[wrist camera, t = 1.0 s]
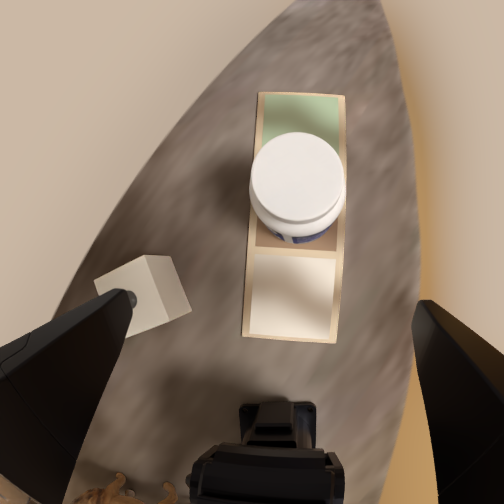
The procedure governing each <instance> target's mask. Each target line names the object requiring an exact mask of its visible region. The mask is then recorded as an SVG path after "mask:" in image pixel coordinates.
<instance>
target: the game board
mask: <svg viewBox="0 0 504 504" xmlns="http://www.w3.org/2000/svg"><path fill="white" fill-rule="evenodd" d="M291 132H303V133H308V134H312V135H315V136H317V137H319V138H321V139H323V140H324V141H326V142H327V143H328V144H329V145H330V146H331V147H332V148H333V149H334V150H335V151H336V153H337V154H338V156H339V158H340V160H341V163H342V166H343V170H344V179H345V183H346V117H345V96H342V95H330V94H315V93H293V92H259V95H258V108H257V122H256V136H255V150H254V159H255V157H256V155H257V153H258V152H259V150H260V149H261V148H262V147H263V146H264V145H265V144H266V143H267V142H269V141H270V140H271V139H273V138H275V137H277V136H279V135H282V134H286V133H291ZM345 213H346V197H345V201H344V205H343V208H342V210H341V212H340V214H339V215H338V217H337V218H336V220H335V221H334V222H333V224H332V225H331V226H330V228H329V229H328V231H327V232H326V233H325V234H324V235H322V236H321V237H320V238H318V239H317V240H315V241H312V242H309V243H305V244H293V243H288V242H285V241H283V240H281V239H279V238H278V237H276V236H275V235H274V234H273V233H272V232H271V231H270V230H269V229H268V228H267V227H266V226H265V224H264V223H263V222H262V221H261V220H260V219H259V217H258V216H257V214H256V213H255V211H254V209H253V206H252V204H251V207H250V221H249V236H248V250H247V265H246V280H245V295H244V310H243V325H242V336H244V337H254V338H265V339H277V340H289V341H304V342H320V343H336V337H337V328H338V319H339V308H340V297H341V285H342V272H343V257H344V238H345Z"/></svg>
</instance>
